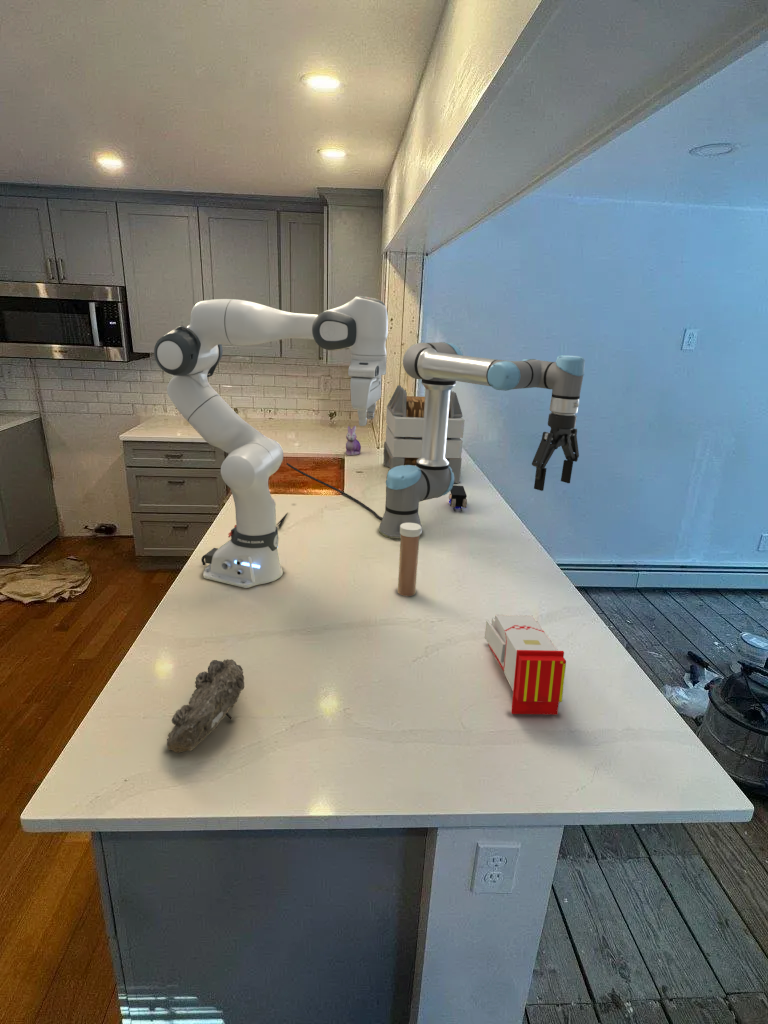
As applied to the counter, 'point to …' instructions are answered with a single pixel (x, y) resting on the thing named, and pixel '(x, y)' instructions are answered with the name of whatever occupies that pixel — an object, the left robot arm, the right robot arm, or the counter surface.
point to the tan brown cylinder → (408, 565)
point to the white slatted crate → (419, 431)
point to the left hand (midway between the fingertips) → (366, 422)
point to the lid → (410, 529)
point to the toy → (527, 663)
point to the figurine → (352, 442)
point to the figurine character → (458, 497)
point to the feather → (281, 520)
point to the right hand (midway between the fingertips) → (552, 485)
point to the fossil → (206, 705)
